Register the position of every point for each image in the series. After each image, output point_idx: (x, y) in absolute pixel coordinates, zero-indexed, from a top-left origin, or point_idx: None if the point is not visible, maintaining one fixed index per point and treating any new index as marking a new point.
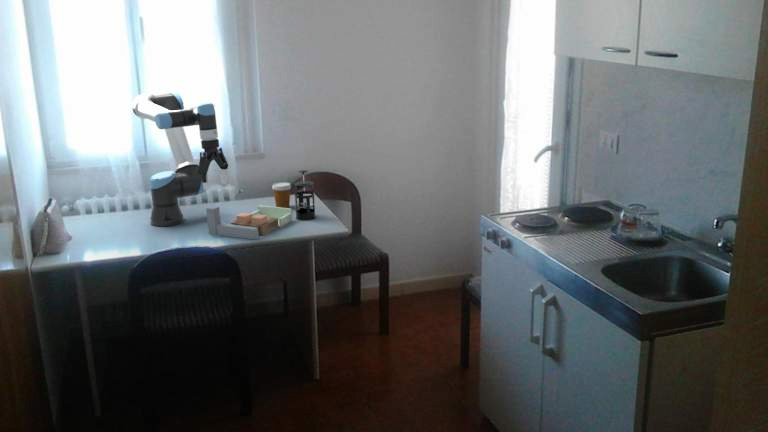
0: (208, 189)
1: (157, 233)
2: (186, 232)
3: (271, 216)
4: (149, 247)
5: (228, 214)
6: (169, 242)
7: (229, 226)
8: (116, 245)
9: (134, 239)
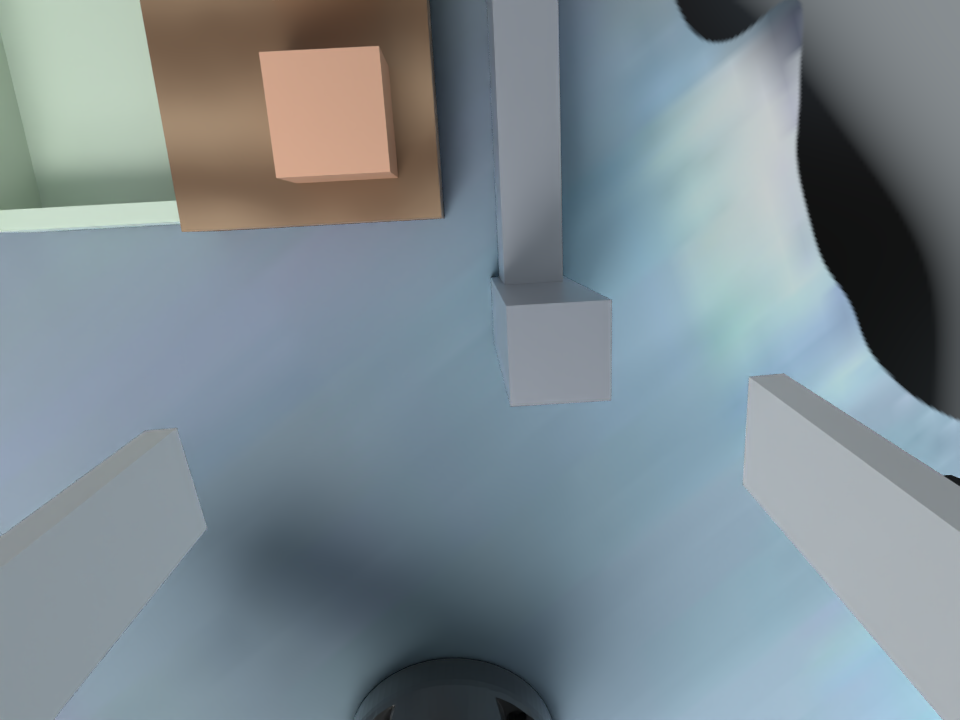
0: (788, 385)
1: (668, 642)
2: (588, 499)
3: (2, 85)
4: None
5: None
6: None
7: (559, 131)
8: None
9: (805, 679)
